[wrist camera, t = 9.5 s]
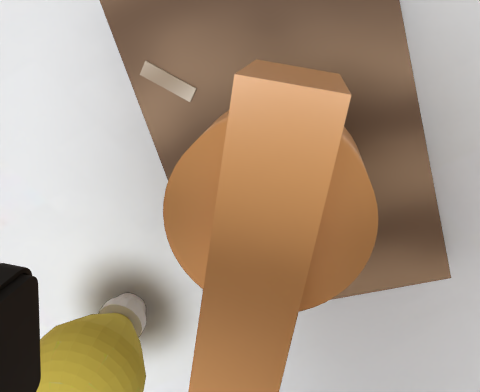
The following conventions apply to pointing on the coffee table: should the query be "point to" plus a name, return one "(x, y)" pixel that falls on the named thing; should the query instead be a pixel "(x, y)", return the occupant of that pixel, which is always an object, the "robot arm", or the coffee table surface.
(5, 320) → the robot arm
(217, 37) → the post board
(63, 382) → the light bulb
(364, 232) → the orange bar knob
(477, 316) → the coffee table surface
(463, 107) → the coffee table surface
